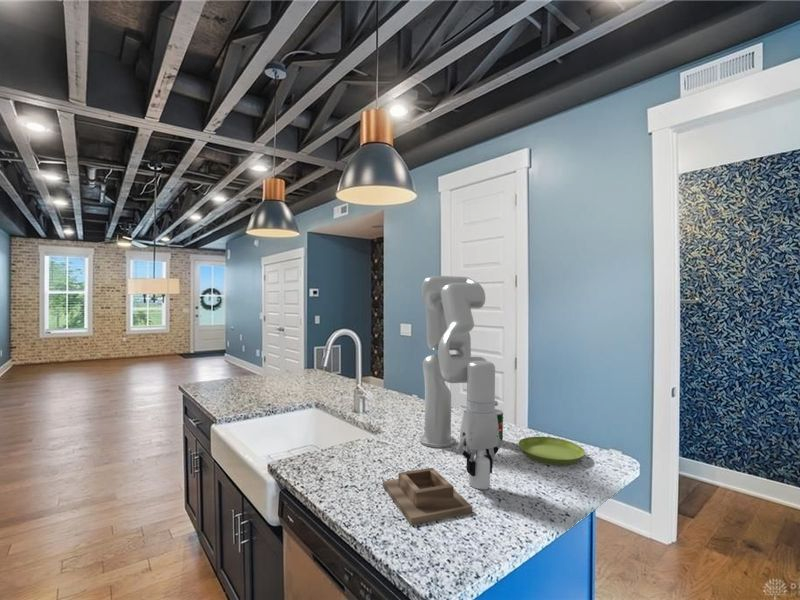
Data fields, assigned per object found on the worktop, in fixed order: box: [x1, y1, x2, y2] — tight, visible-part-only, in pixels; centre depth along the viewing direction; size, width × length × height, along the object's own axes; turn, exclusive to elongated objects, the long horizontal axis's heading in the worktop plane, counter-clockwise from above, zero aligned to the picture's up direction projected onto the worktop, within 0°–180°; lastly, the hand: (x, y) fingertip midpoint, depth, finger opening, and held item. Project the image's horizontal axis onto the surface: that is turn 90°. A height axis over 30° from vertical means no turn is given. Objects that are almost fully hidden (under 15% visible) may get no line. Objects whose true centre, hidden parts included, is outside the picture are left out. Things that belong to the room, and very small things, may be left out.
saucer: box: [517, 436, 586, 467], centre depth 134 cm, size 21×21×3 cm
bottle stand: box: [382, 467, 473, 526], centre depth 103 cm, size 20×16×5 cm
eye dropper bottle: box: [468, 449, 491, 491], centre depth 110 cm, size 4×6×12 cm
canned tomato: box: [495, 408, 504, 443], centre depth 147 cm, size 8×8×11 cm
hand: (479, 472), depth 110 cm, fingers closed on eye dropper bottle, 4 cm apart
